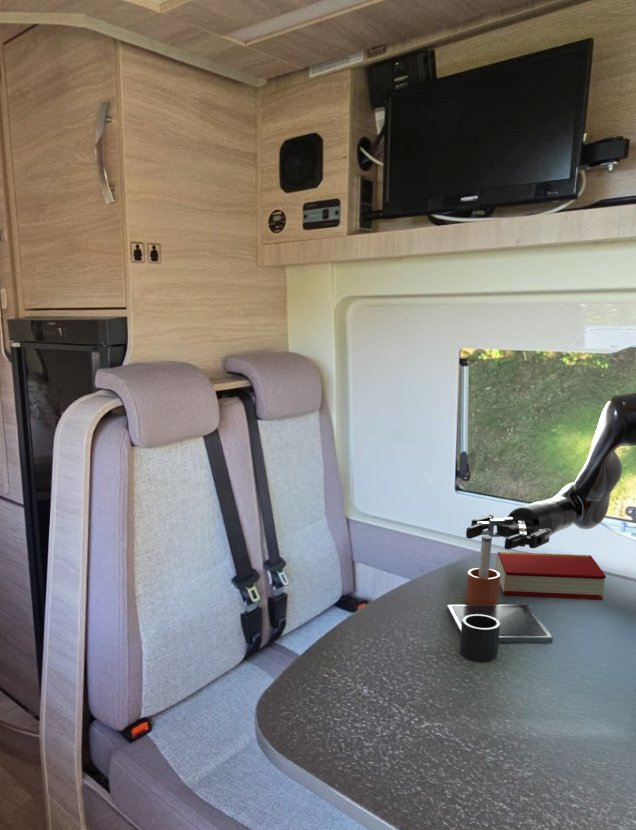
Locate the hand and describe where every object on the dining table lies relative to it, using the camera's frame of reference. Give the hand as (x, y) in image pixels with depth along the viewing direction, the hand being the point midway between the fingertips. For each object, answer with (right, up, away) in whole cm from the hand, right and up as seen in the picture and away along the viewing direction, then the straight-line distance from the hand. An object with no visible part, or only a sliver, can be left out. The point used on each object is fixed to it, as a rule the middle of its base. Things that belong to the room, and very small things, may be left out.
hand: (486, 538), depth 138 cm
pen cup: (+1, -12, +4) cm, 13 cm away
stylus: (+1, -12, +4) cm, 13 cm away
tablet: (0, -16, -6) cm, 17 cm away
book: (+16, -9, +11) cm, 22 cm away
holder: (-7, -20, -15) cm, 26 cm away
